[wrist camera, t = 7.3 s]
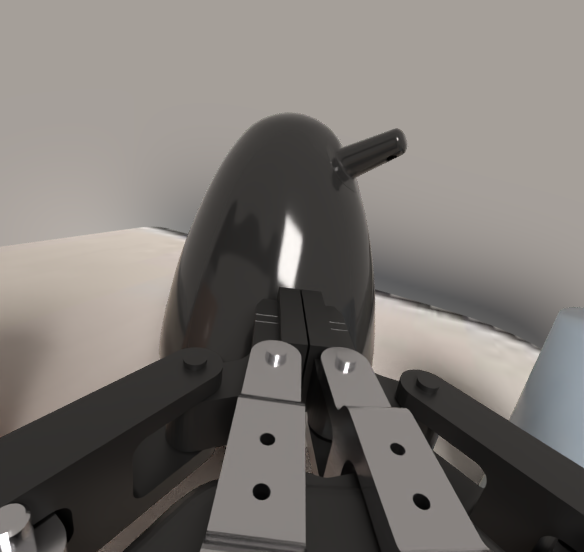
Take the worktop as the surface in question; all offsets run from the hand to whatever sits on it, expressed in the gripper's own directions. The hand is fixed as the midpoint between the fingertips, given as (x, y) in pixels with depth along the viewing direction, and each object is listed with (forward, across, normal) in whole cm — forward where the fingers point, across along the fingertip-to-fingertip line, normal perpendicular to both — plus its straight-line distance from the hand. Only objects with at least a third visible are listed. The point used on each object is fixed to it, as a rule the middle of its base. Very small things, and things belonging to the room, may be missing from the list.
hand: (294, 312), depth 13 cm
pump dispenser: (+3, 0, +8) cm, 9 cm away
